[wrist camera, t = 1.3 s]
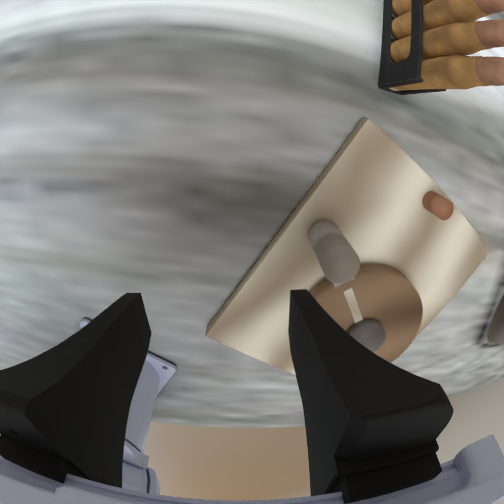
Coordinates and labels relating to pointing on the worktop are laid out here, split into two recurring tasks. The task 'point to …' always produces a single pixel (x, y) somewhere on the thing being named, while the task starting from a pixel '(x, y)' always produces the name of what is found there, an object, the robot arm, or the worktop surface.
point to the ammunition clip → (439, 45)
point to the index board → (354, 243)
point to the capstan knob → (365, 295)
